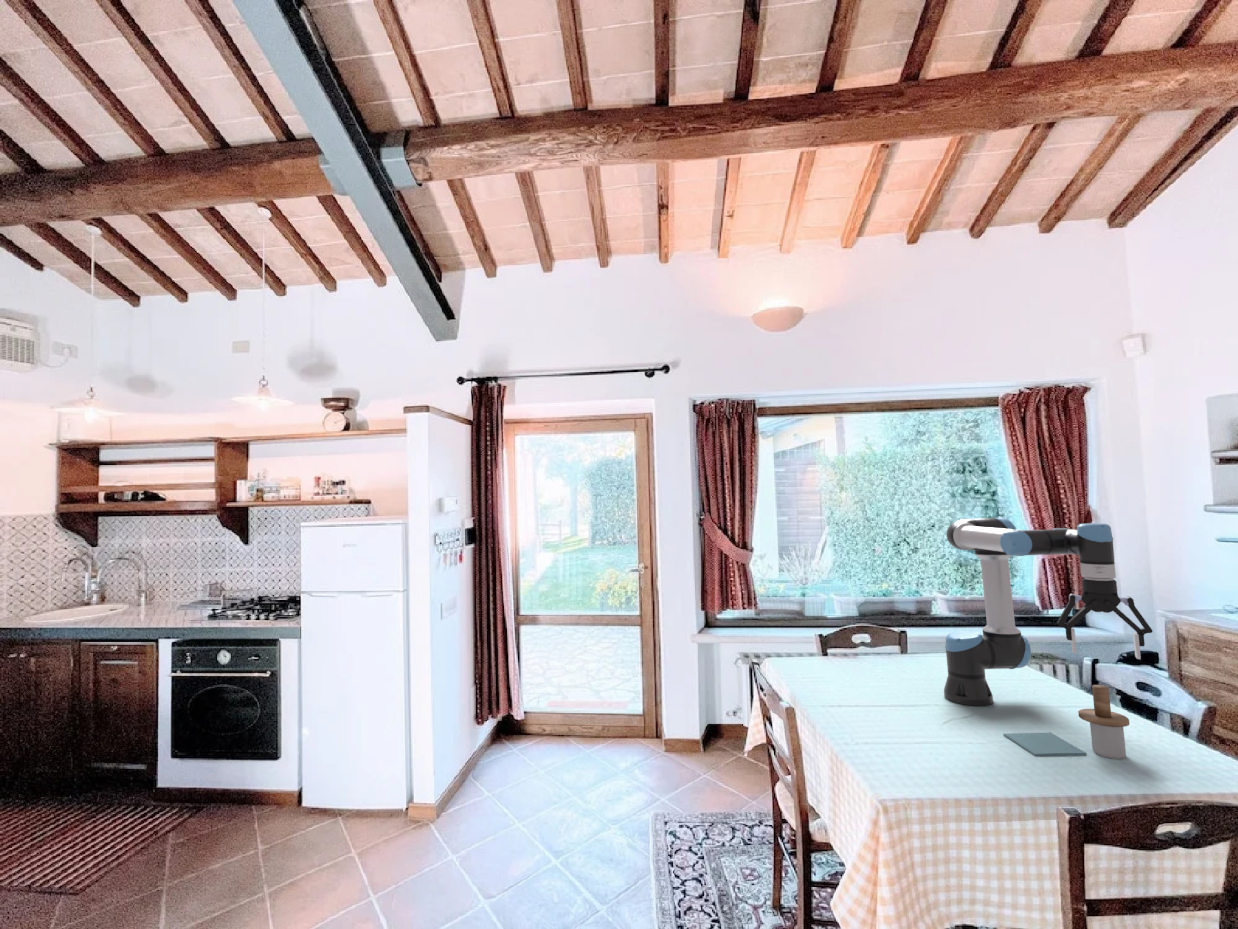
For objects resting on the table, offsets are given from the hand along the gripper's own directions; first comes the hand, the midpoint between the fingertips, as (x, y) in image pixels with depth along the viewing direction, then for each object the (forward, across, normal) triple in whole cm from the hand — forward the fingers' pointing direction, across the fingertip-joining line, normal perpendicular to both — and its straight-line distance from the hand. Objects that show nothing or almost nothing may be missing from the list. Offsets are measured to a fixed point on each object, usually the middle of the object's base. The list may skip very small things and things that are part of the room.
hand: (1105, 655), depth 158 cm
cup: (+28, -1, +3) cm, 28 cm away
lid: (+19, -1, +3) cm, 19 cm away
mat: (+28, -16, 0) cm, 32 cm away
